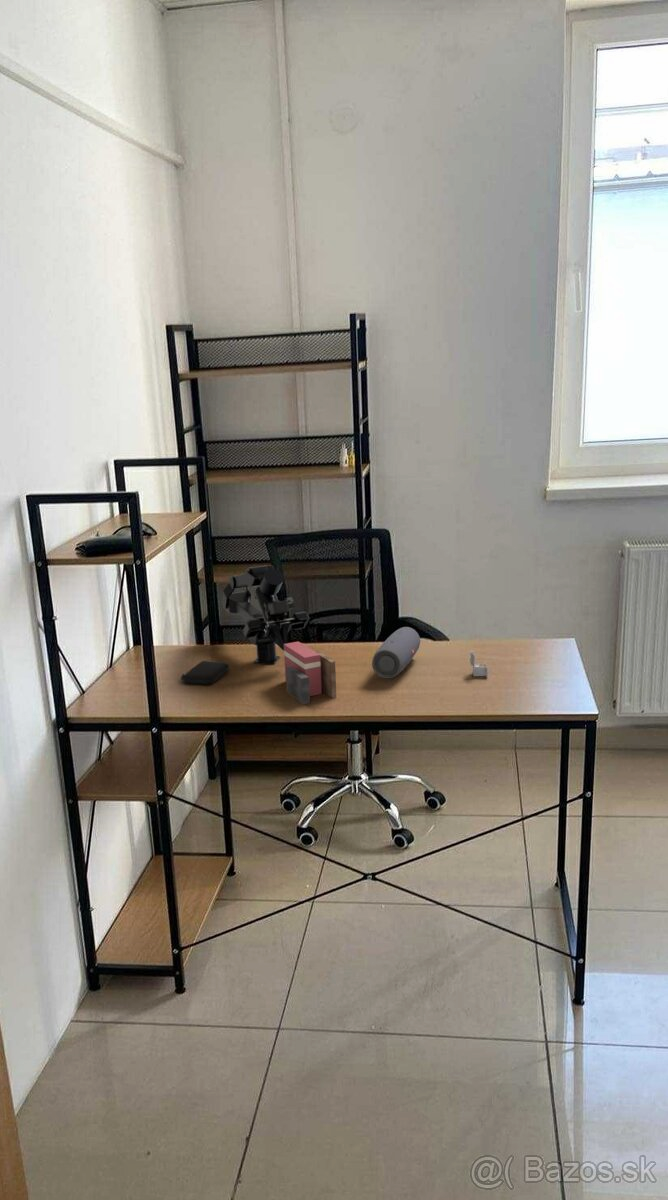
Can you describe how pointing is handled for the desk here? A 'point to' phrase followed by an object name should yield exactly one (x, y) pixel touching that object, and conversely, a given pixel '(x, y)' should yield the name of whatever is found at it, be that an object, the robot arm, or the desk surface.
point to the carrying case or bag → (205, 673)
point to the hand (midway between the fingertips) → (285, 650)
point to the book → (304, 664)
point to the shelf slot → (300, 681)
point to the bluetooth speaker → (396, 652)
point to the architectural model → (478, 667)
